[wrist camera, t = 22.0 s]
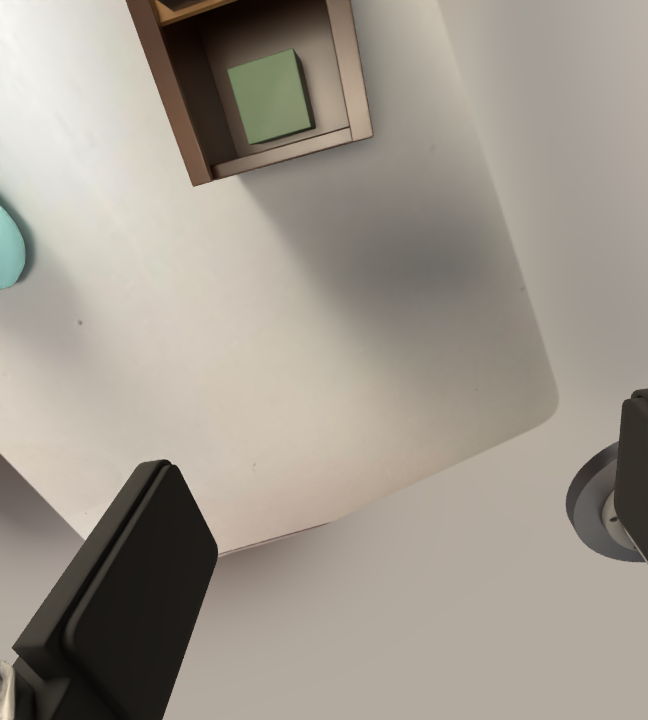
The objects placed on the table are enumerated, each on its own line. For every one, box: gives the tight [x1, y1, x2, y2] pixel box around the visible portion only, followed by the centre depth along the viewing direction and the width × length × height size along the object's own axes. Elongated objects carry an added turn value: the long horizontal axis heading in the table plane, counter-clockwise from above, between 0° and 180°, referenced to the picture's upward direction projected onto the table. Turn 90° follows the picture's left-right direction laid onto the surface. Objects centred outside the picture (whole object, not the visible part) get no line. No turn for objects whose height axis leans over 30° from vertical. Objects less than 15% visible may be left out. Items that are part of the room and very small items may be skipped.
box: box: [126, 0, 374, 187], centre depth 23 cm, size 13×10×9 cm
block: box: [227, 48, 316, 145], centre depth 26 cm, size 4×4×4 cm
